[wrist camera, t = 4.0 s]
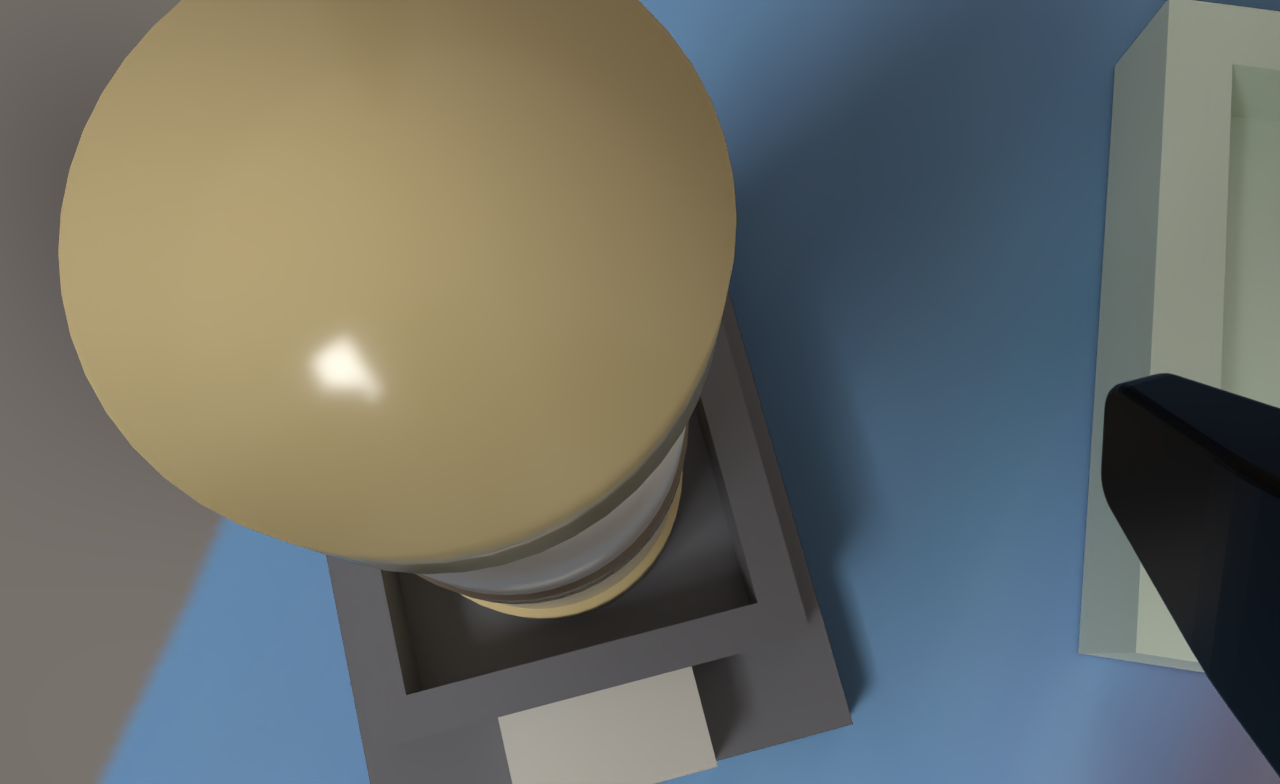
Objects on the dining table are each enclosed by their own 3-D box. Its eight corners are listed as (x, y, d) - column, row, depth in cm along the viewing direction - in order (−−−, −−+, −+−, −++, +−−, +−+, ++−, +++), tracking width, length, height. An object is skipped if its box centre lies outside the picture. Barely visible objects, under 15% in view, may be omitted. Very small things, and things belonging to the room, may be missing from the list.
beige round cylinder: (592, 671, 17) (503, 694, 6) (367, 532, 17) (-83, 327, 7) (726, 442, 18) (856, 104, 7) (507, 315, 18) (310, -184, 7)
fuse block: (845, 721, 17) (869, 729, 15) (392, 844, 17) (363, 865, 15) (691, 184, 19) (696, 136, 17) (283, 283, 19) (245, 245, 17)
